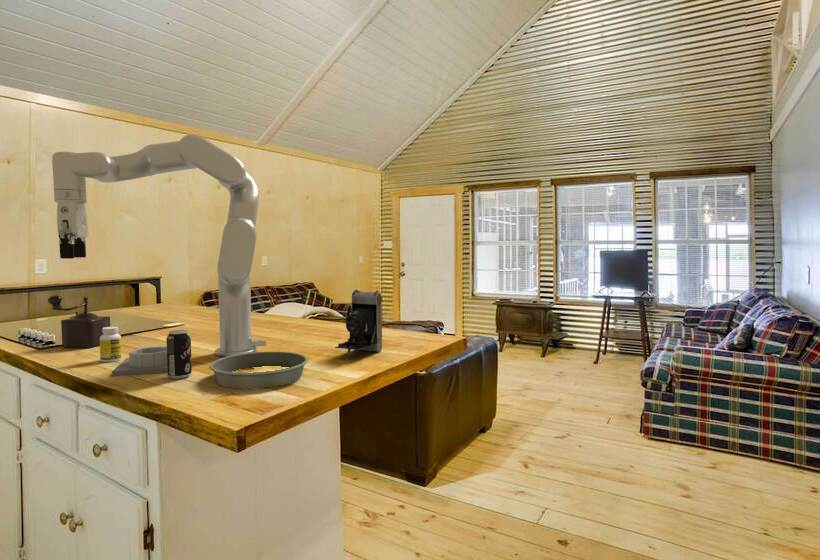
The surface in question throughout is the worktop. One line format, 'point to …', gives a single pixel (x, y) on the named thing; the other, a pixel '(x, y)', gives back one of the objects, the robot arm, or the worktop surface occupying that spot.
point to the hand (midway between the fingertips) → (73, 257)
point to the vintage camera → (364, 322)
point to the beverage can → (179, 354)
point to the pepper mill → (80, 325)
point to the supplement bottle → (110, 345)
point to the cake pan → (258, 359)
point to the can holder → (143, 361)
